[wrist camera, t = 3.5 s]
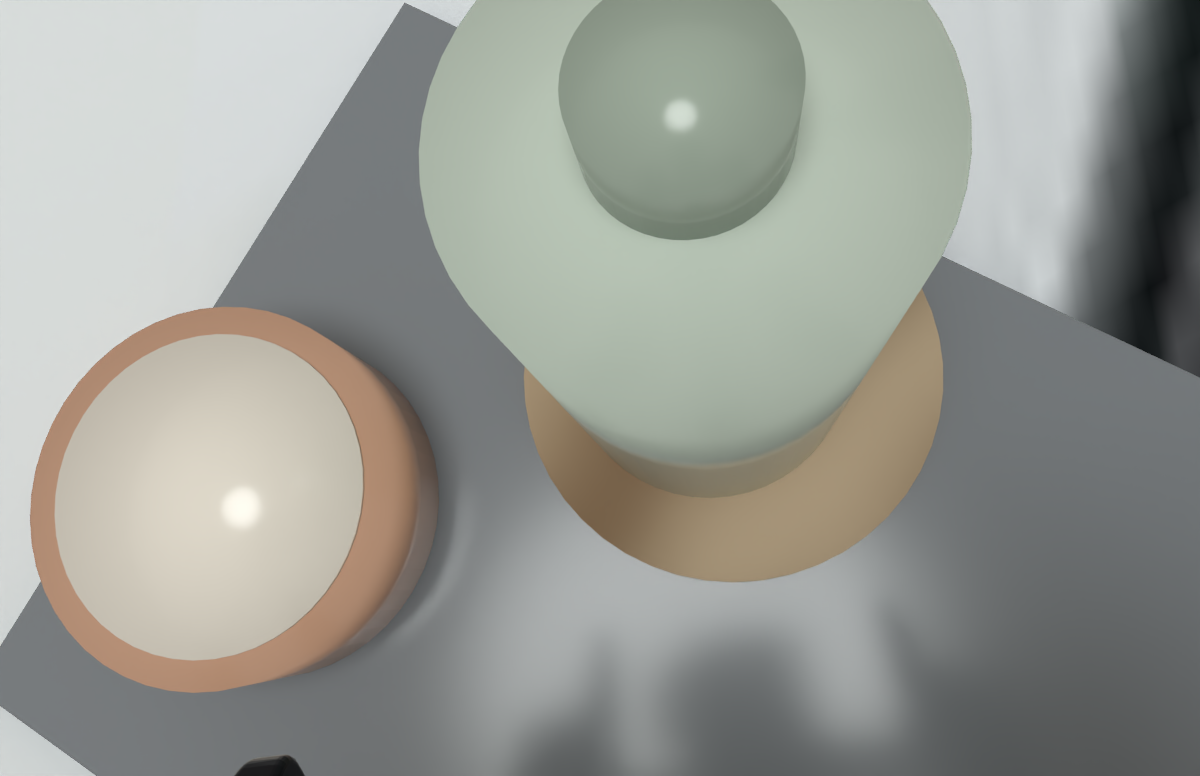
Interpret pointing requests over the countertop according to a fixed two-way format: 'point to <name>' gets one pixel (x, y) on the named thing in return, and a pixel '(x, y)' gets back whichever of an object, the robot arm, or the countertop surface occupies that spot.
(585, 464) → the cork mat
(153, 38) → the countertop surface
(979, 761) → the slate board
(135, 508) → the ramekin
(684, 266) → the cloche
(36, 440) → the countertop surface
